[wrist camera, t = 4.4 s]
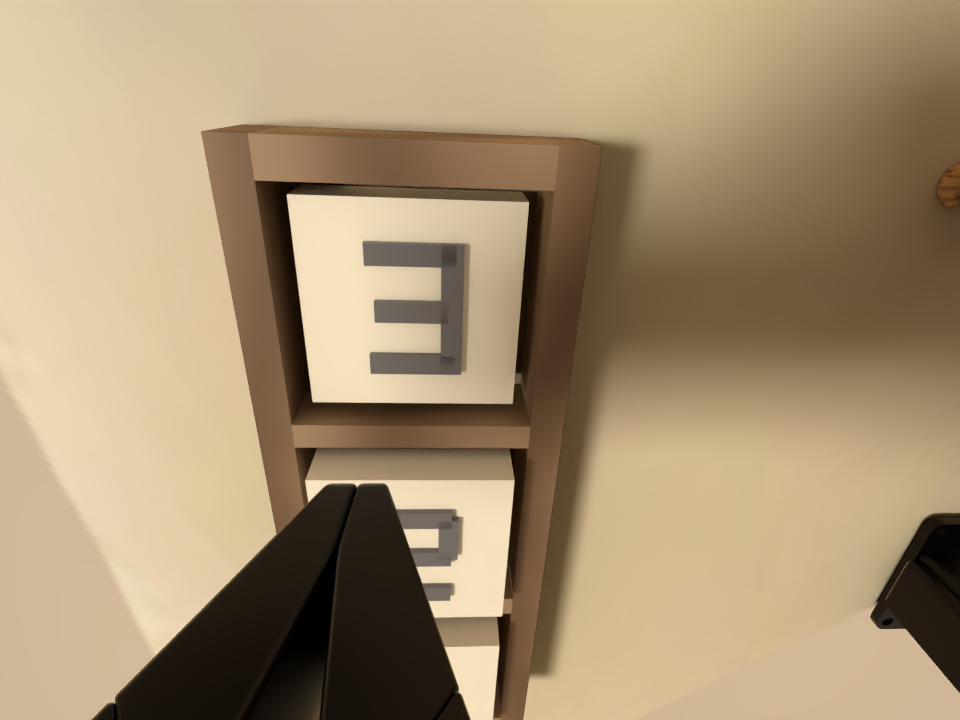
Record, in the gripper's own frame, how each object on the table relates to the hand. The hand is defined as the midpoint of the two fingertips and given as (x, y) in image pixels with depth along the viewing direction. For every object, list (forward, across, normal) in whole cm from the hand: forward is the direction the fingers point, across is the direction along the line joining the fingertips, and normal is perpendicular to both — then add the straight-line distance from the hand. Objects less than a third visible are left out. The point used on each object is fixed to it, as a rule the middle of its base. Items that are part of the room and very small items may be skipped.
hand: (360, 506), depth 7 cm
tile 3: (+9, 0, 0) cm, 9 cm away
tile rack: (+10, 0, +8) cm, 12 cm away
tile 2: (+8, 0, +8) cm, 11 cm away
